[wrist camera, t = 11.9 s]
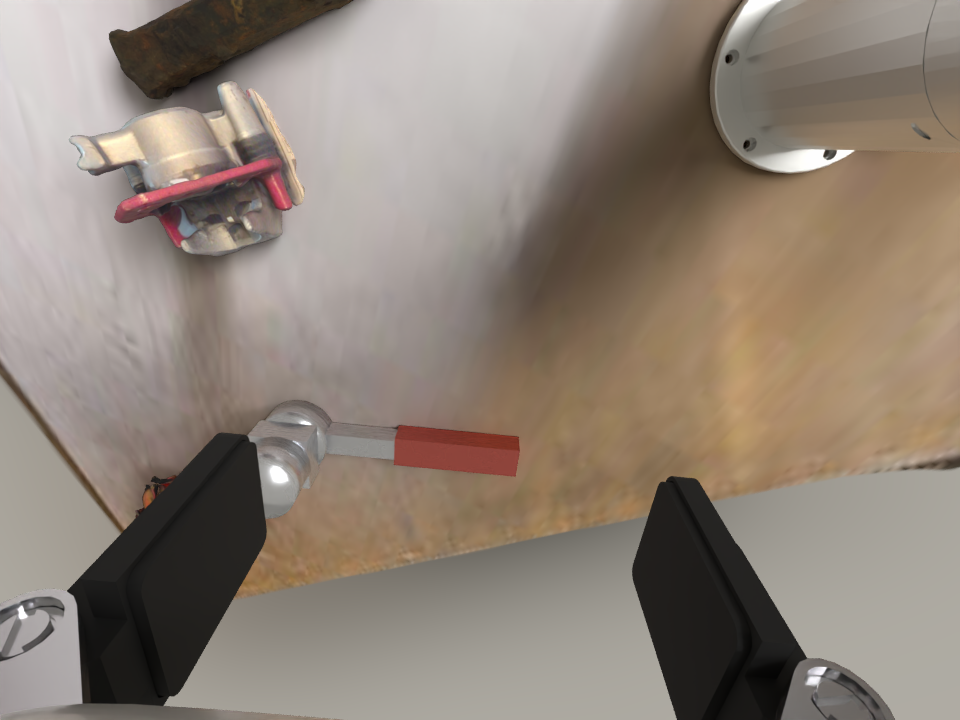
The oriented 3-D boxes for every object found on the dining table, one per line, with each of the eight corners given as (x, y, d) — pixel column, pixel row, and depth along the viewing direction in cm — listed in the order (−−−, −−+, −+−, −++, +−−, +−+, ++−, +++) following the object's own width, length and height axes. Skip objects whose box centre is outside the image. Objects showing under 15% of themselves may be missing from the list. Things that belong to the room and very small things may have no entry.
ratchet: (520, 422, 43) (523, 455, 39) (512, 475, 46) (514, 512, 41) (266, 397, 43) (239, 427, 38) (272, 452, 45) (247, 486, 41)
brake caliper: (198, 301, 37) (22, 230, 25) (186, 180, 39) (21, 66, 28) (331, 255, 35) (207, 156, 23) (309, 131, 38) (187, -12, 26)
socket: (319, 423, 40) (292, 467, 35) (321, 472, 43) (296, 521, 37) (257, 417, 40) (220, 460, 35) (263, 467, 43) (229, 515, 37)
